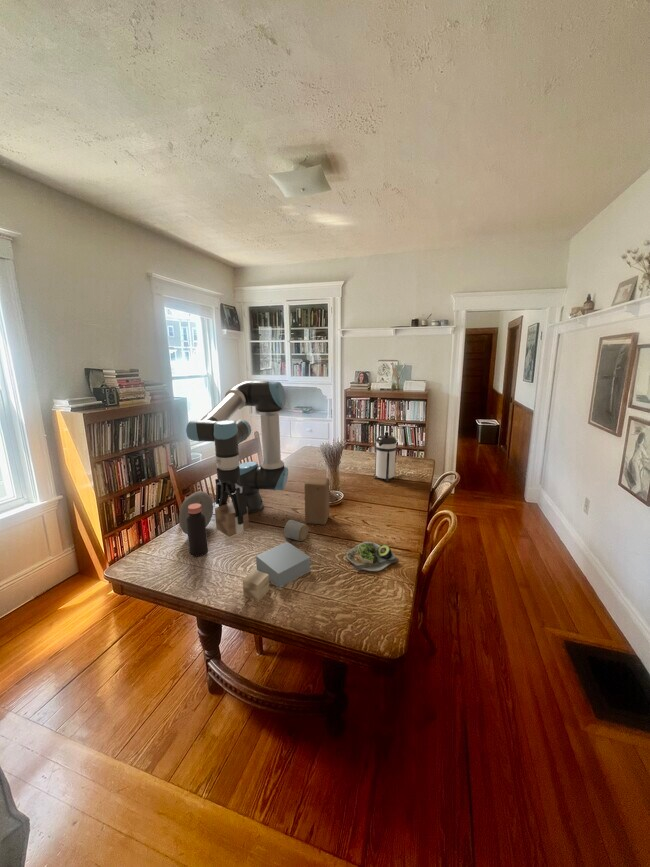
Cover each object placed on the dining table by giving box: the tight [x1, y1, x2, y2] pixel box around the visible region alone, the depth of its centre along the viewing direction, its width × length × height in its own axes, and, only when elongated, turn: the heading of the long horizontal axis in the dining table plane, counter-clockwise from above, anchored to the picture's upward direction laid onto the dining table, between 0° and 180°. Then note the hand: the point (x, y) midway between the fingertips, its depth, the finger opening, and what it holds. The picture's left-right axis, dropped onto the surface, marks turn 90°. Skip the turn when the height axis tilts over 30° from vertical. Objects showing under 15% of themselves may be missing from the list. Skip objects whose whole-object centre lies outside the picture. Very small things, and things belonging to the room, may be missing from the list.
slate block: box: [255, 541, 311, 589], centre depth 124 cm, size 14×14×6 cm
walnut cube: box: [214, 501, 250, 538], centre depth 120 cm, size 8×8×8 cm
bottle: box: [186, 503, 209, 558], centre depth 133 cm, size 7×7×20 cm
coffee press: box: [372, 431, 398, 483], centre depth 213 cm, size 17×16×30 cm
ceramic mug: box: [283, 519, 309, 542], centre depth 146 cm, size 11×8×8 cm
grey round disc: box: [178, 490, 214, 536], centre depth 148 cm, size 18×7×19 cm, turn 156°
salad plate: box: [346, 541, 400, 572], centre depth 130 cm, size 19×18×5 cm
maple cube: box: [242, 569, 270, 602], centre depth 112 cm, size 6×6×6 cm
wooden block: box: [304, 476, 330, 526], centre depth 160 cm, size 10×10×20 cm
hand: (232, 527), depth 120 cm, fingers closed on walnut cube, 8 cm apart
